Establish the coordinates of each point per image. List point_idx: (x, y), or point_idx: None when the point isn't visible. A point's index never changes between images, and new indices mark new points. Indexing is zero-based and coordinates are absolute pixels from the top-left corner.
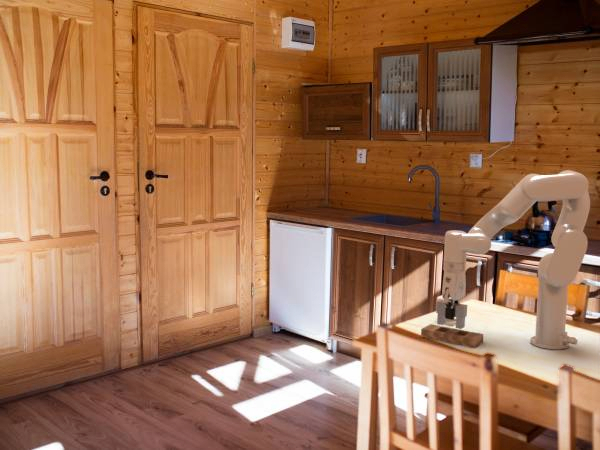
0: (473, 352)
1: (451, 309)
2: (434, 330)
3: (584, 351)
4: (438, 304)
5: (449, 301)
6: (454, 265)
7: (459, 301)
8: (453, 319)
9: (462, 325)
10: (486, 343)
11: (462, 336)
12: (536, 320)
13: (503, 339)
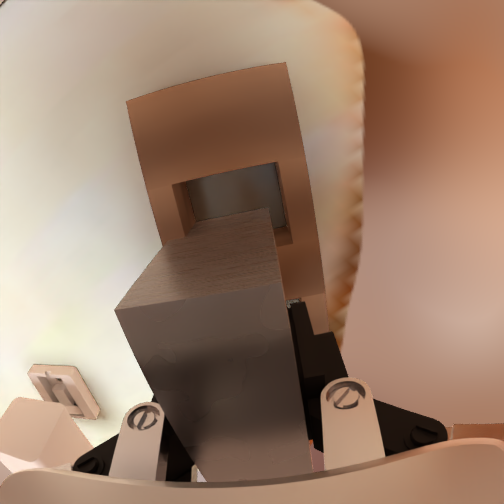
0: (352, 43)
1: (337, 385)
2: None
3: None
4: None
5: (44, 462)
6: None
7: (125, 444)
8: (298, 302)
9: (239, 219)
10: (144, 84)
11: (293, 164)
12: None
13: (29, 87)
